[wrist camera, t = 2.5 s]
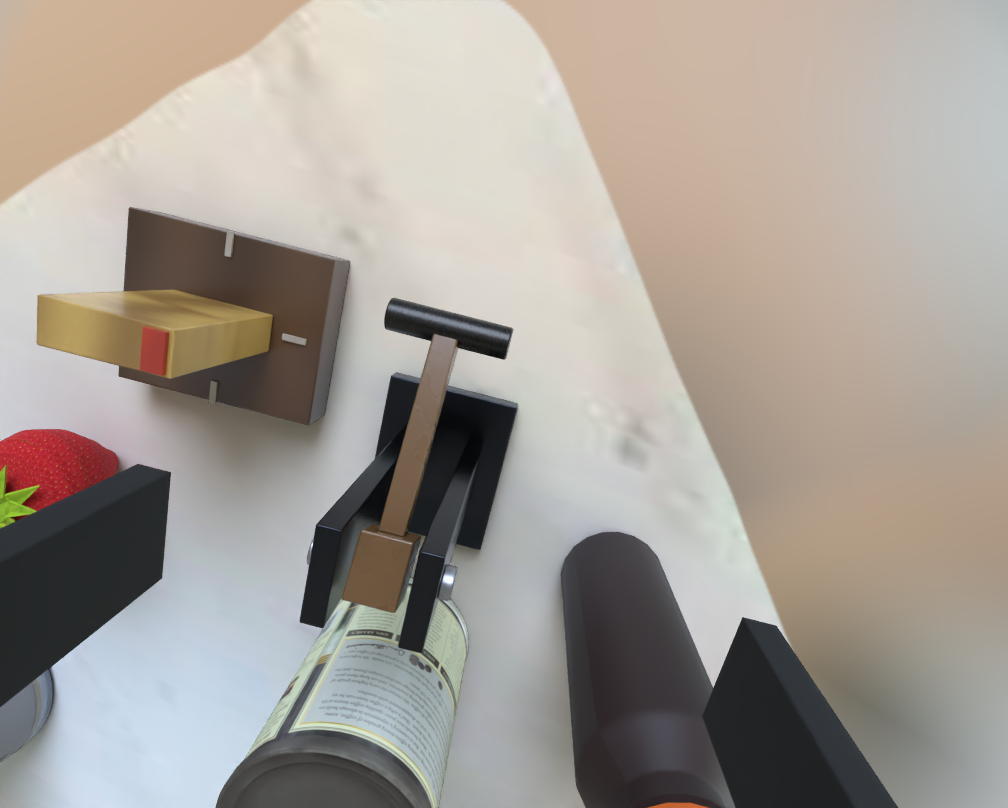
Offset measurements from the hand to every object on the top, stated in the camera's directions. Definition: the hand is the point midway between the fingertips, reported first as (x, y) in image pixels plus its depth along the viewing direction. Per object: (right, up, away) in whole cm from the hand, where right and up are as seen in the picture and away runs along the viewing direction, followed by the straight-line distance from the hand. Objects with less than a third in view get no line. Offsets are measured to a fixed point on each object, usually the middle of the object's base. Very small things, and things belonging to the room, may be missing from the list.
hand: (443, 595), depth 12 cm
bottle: (+9, -7, +24) cm, 26 cm away
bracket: (-3, +1, +23) cm, 23 cm away
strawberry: (-26, +1, +24) cm, 35 cm away
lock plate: (-15, +10, +21) cm, 28 cm away
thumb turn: (-15, +9, +19) cm, 26 cm away
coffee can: (-6, -12, +26) cm, 30 cm away
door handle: (-2, +2, +12) cm, 12 cm away
